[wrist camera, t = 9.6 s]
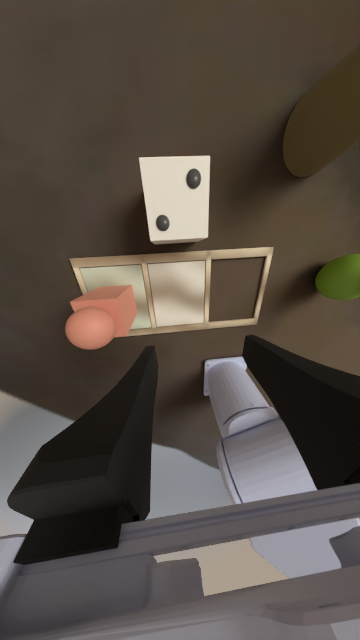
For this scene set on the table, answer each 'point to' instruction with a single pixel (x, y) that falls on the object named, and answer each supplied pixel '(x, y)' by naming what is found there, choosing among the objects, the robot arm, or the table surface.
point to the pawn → (101, 316)
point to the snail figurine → (340, 278)
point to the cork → (325, 119)
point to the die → (176, 197)
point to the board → (167, 286)
